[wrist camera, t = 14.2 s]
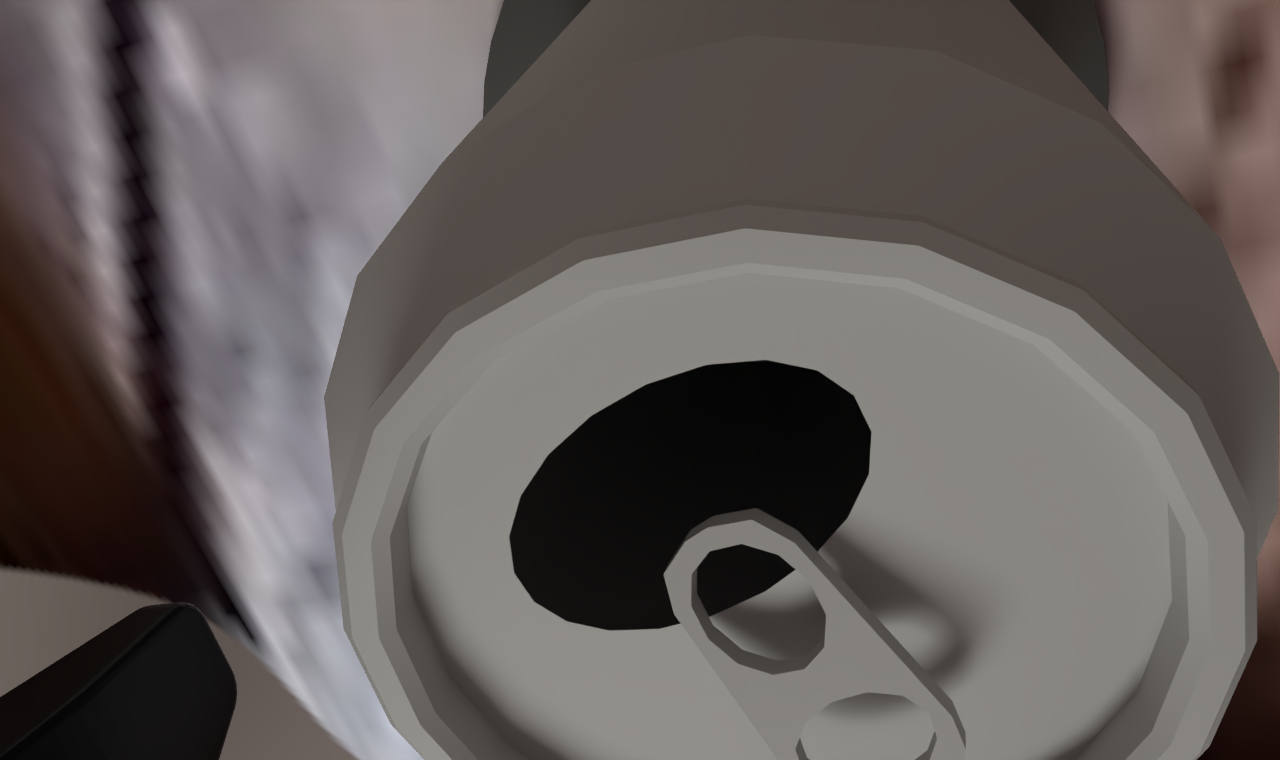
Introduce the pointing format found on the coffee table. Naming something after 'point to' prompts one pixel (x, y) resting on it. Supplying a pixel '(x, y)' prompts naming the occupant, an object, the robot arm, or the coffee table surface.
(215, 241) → the coffee table surface
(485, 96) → the coaster
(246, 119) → the coffee table surface
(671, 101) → the can
